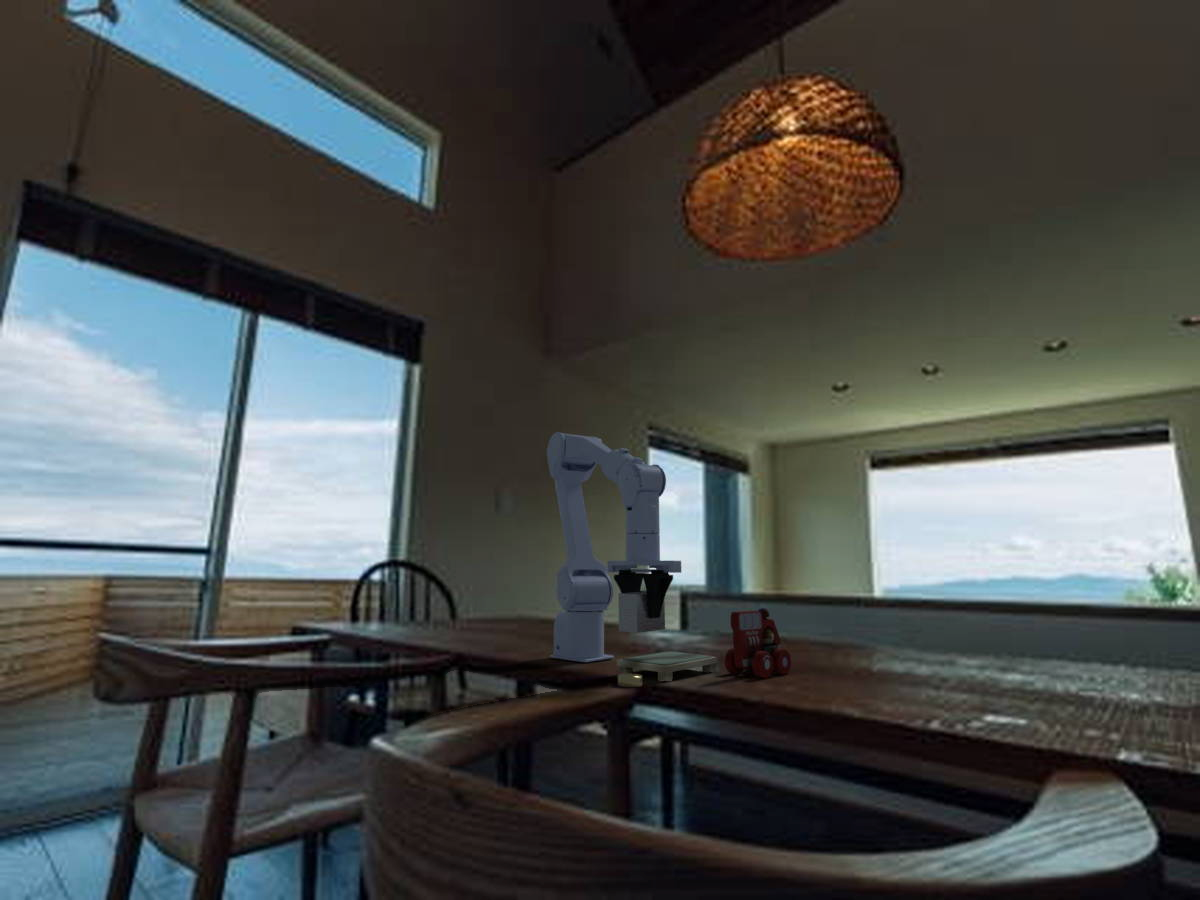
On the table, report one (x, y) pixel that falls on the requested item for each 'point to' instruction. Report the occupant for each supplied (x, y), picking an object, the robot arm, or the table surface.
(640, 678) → the brass nut
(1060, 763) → the table surface
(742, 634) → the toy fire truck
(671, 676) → the stand
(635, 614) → the housing
